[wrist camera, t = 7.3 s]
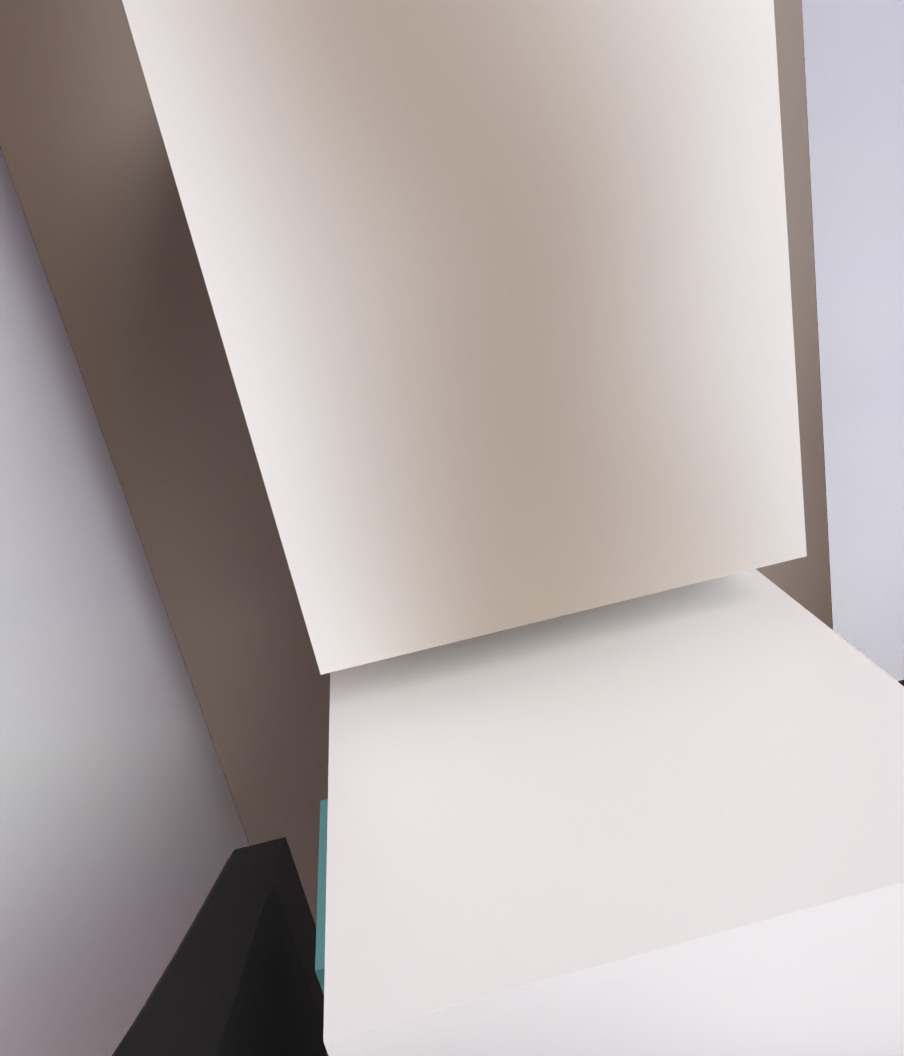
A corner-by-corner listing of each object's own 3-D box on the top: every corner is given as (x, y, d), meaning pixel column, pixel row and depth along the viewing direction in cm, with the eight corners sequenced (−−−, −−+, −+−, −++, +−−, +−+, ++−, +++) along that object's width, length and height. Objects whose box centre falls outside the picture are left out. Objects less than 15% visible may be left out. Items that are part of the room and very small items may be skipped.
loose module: (675, 506, 12) (1086, 831, 5) (708, 764, 13) (1059, 1263, 7) (317, 594, 12) (291, 1048, 5) (392, 847, 13) (445, 1448, 7)
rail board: (726, -257, 11) (1091, -722, 6) (818, 1052, 19) (1001, 1361, 14) (-50, -109, 10) (-450, -470, 5) (389, 1170, 19) (409, 1538, 13)
